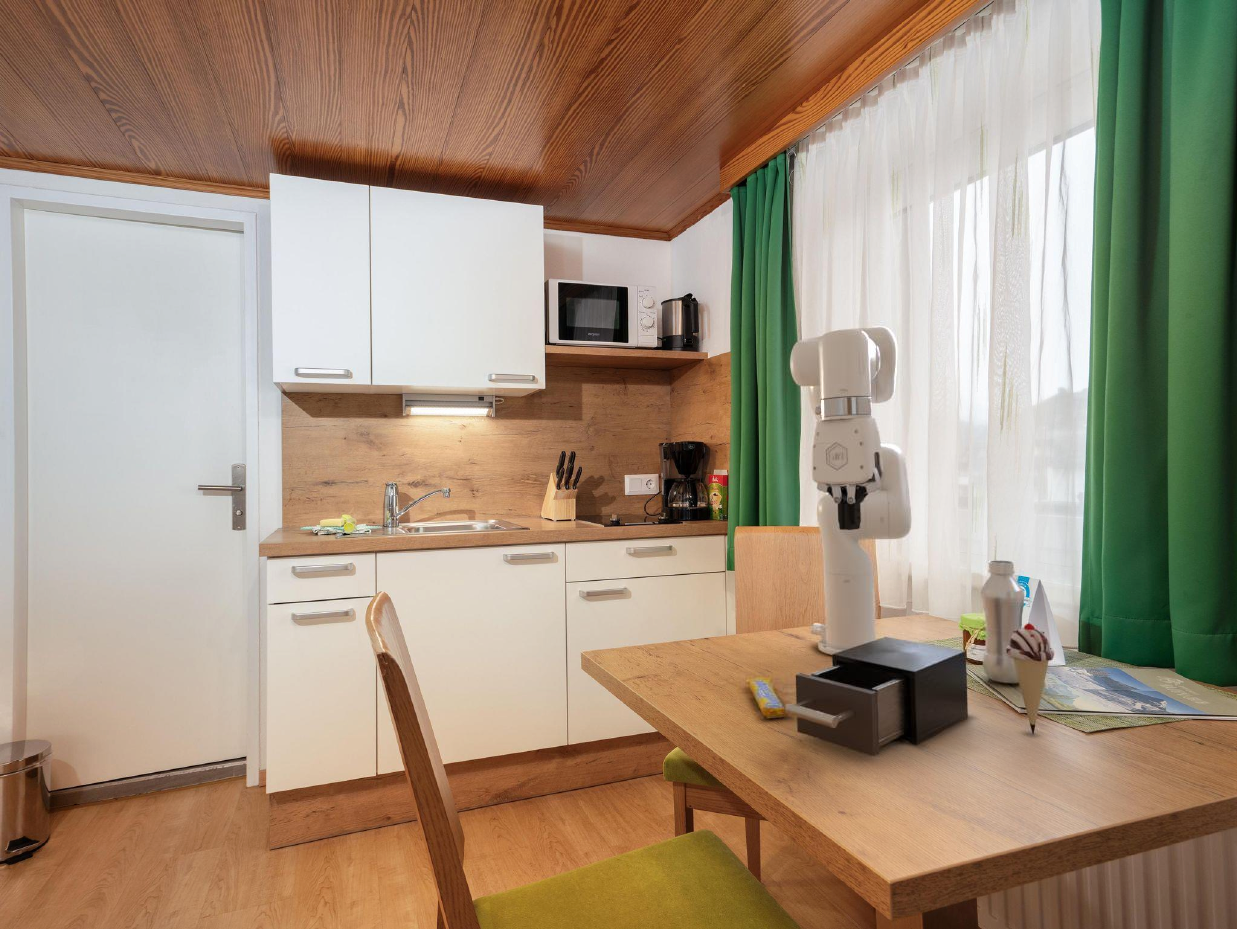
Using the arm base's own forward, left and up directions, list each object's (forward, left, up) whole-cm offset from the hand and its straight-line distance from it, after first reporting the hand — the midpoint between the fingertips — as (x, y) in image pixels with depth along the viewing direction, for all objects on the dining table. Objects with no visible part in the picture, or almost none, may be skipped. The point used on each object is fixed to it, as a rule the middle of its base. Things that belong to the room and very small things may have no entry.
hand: (849, 528), depth 109 cm
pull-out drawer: (+8, -14, -26) cm, 31 cm away
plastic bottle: (+11, +27, -27) cm, 40 cm away
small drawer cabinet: (+8, -1, -27) cm, 28 cm away
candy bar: (-10, -9, -27) cm, 30 cm away
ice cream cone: (+23, +6, -27) cm, 36 cm away
